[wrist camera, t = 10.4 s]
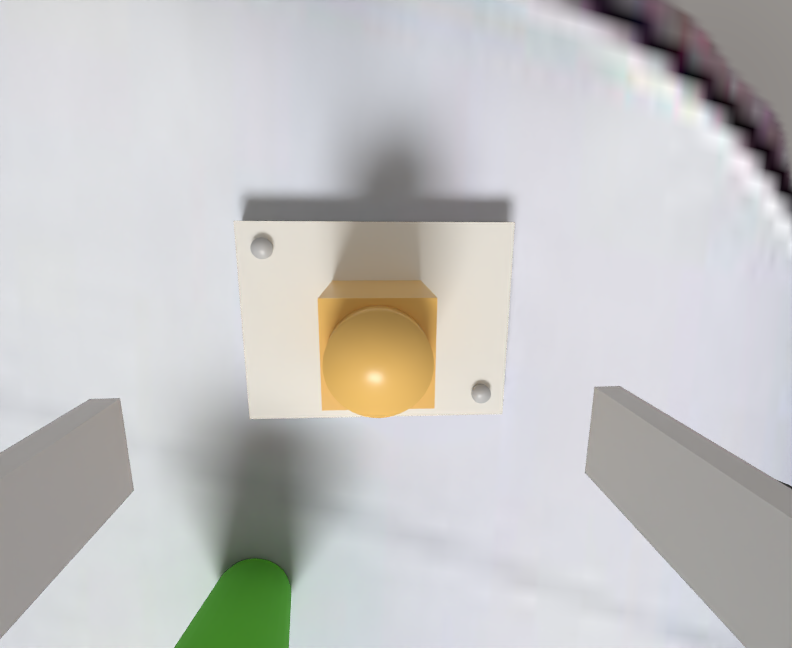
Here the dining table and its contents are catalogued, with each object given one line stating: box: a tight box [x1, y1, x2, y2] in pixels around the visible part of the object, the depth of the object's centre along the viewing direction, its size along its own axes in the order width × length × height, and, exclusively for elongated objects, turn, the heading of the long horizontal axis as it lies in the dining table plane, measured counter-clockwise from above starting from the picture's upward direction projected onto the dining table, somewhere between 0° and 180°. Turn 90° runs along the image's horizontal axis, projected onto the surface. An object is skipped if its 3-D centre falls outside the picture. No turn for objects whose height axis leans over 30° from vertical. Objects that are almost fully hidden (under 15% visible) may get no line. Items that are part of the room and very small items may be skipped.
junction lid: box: [234, 221, 515, 419], centre depth 24 cm, size 16×12×6 cm
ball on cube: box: [318, 280, 437, 418], centre depth 21 cm, size 5×5×8 cm
